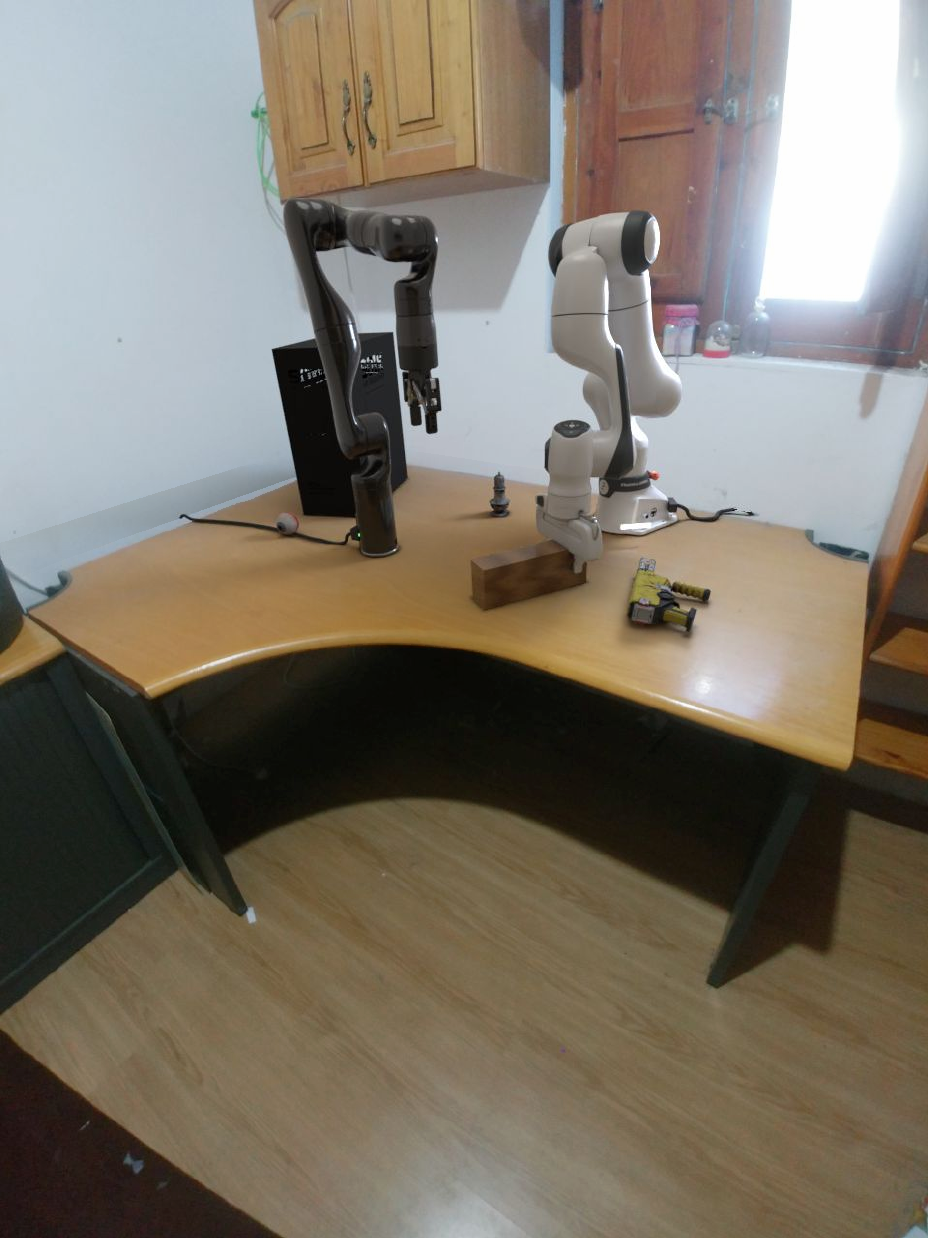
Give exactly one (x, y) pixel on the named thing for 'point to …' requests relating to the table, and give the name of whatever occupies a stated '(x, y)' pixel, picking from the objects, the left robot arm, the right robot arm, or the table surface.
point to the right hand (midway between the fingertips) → (566, 565)
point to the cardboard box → (311, 417)
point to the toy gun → (660, 598)
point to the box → (523, 573)
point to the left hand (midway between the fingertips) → (424, 429)
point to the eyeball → (287, 523)
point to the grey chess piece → (499, 497)
